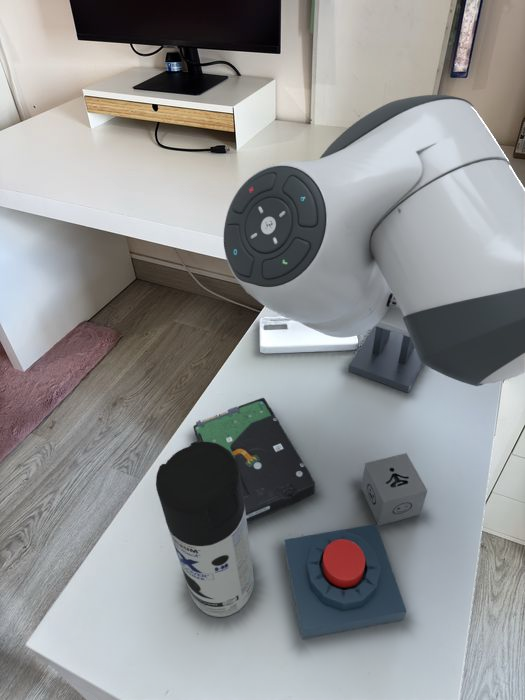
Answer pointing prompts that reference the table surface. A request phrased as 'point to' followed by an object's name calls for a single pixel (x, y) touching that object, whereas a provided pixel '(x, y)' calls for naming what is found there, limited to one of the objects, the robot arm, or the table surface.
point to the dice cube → (393, 489)
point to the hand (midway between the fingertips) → (371, 311)
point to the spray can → (208, 525)
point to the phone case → (299, 338)
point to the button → (343, 563)
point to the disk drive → (259, 457)
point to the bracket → (387, 359)
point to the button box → (336, 602)
